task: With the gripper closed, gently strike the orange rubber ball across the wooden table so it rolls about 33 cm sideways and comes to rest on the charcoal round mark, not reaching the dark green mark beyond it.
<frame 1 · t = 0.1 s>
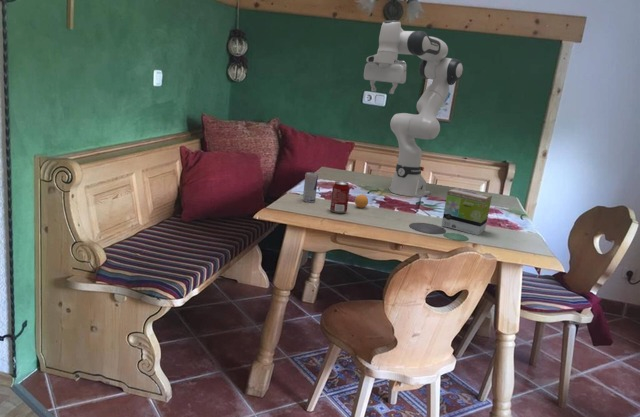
hand: (382, 92, 226), 48 cm above the table, tool pointing down, fingers open, 8 cm apart
tea box: (463, 229, 205), on the table
ball: (361, 201, 220), on the table
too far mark: (455, 236, 192), on the table
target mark: (427, 228, 199), on the table
soda can: (338, 212, 210), on the table
energy drink: (308, 201, 222), on the table
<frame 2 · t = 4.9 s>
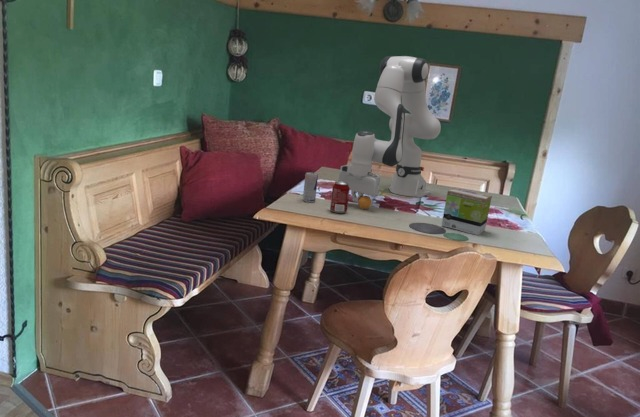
hand: (356, 202, 221), 2 cm above the table, tool pointing down, fingers closed
ball: (365, 202, 219), on the table
everything else where it was.
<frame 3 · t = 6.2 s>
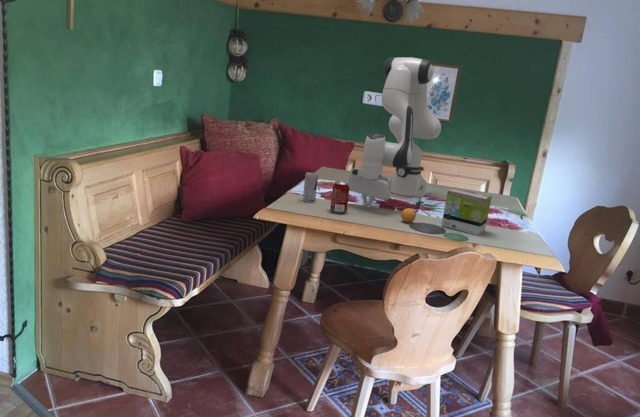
hand: (366, 205, 218), 2 cm above the table, tool pointing down, fingers closed
ball: (408, 215, 205), on the table
everything else where it was.
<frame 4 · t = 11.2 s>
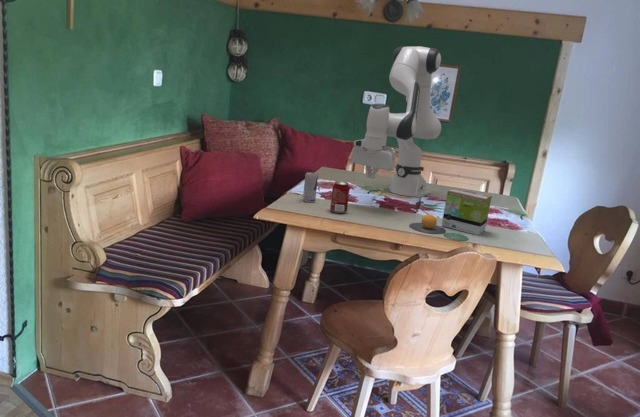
hand: (370, 177, 215), 14 cm above the table, tool pointing down, fingers closed
ball: (429, 221, 198), on the table
everything else where it was.
at the end: ball 0.2 cm from the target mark (horizontally); ball at rest at the end (0.0 cm/s); ball moved 33.2 cm from its start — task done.
